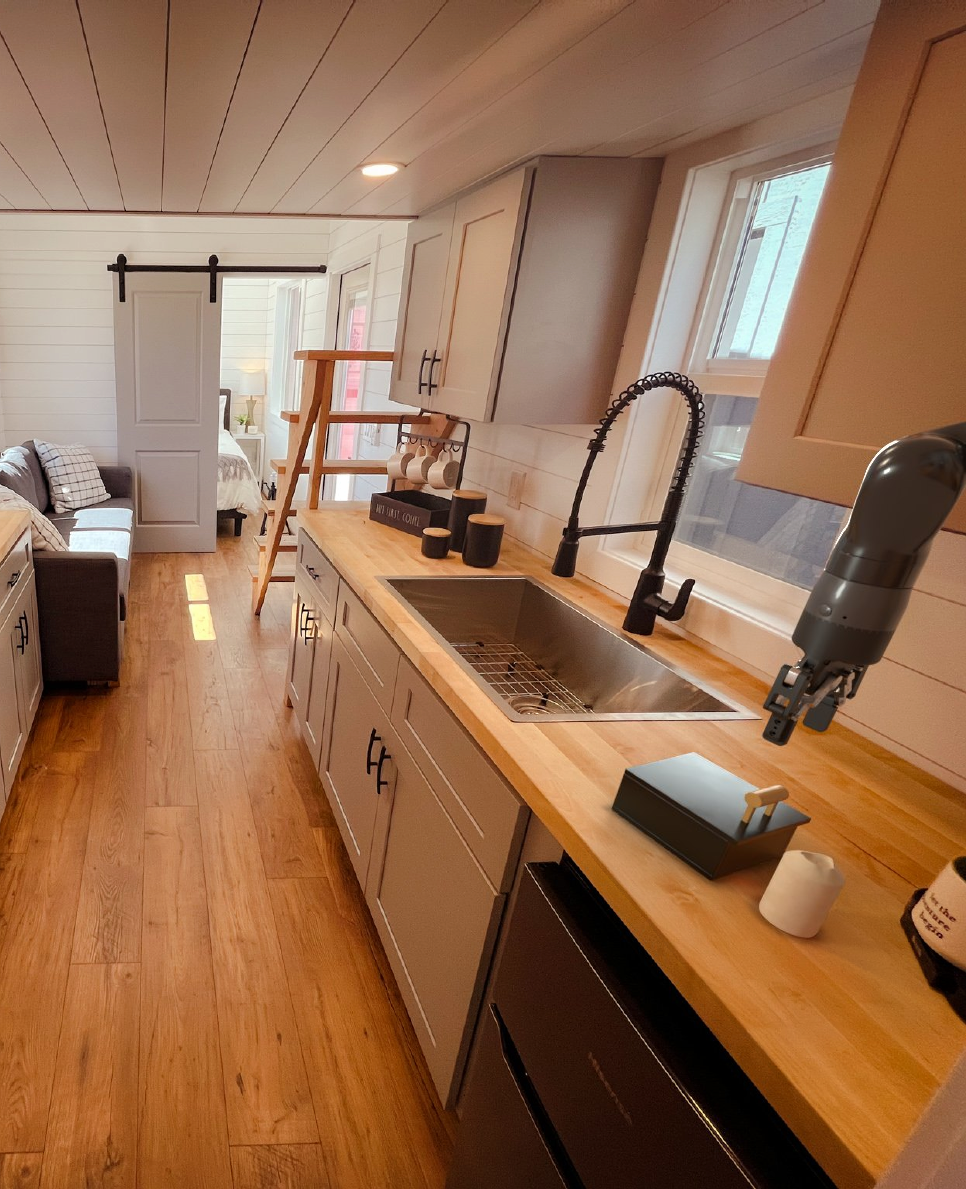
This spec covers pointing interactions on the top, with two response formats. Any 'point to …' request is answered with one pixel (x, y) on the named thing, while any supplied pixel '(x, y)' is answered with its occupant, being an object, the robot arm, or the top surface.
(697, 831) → the bread bin
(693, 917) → the top surface
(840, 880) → the candle
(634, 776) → the bin lid
